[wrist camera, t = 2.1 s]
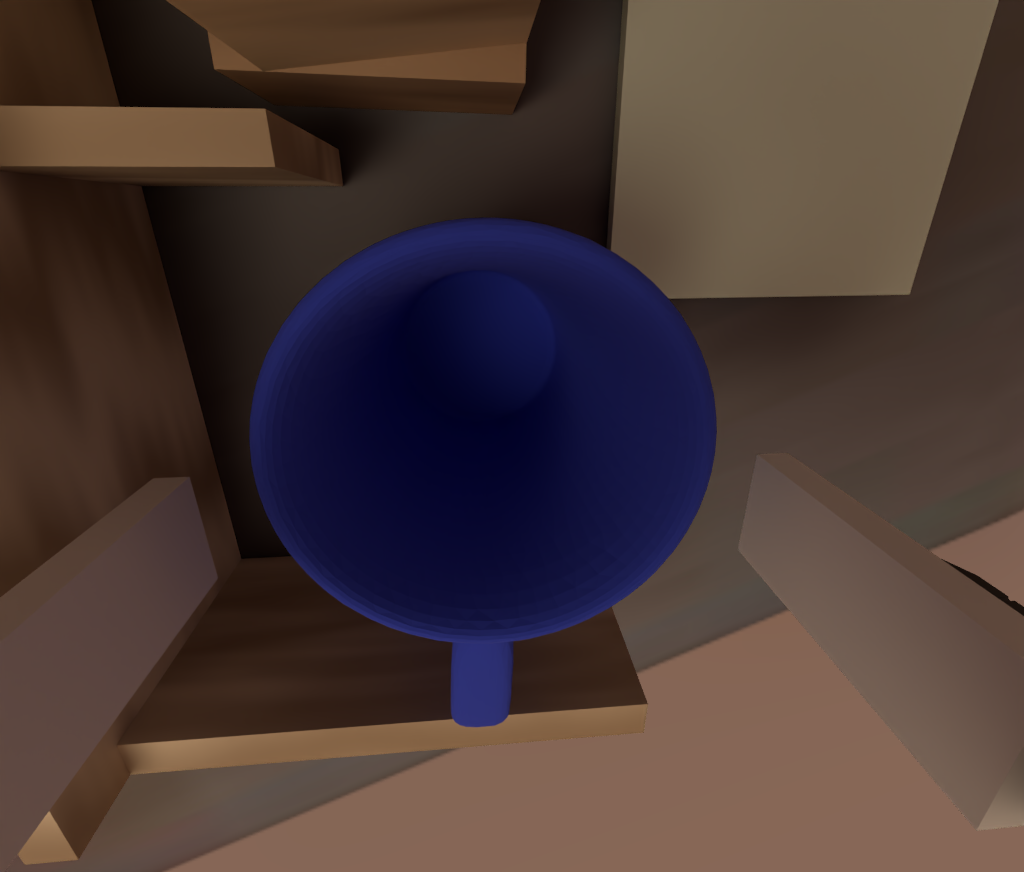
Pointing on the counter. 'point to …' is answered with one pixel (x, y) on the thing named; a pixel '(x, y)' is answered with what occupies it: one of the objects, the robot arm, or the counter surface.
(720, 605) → the counter surface
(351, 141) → the counter surface
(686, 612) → the counter surface
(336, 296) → the mug
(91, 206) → the rack
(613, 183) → the sage tile
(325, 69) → the offcut walnut
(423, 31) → the offcut oak
